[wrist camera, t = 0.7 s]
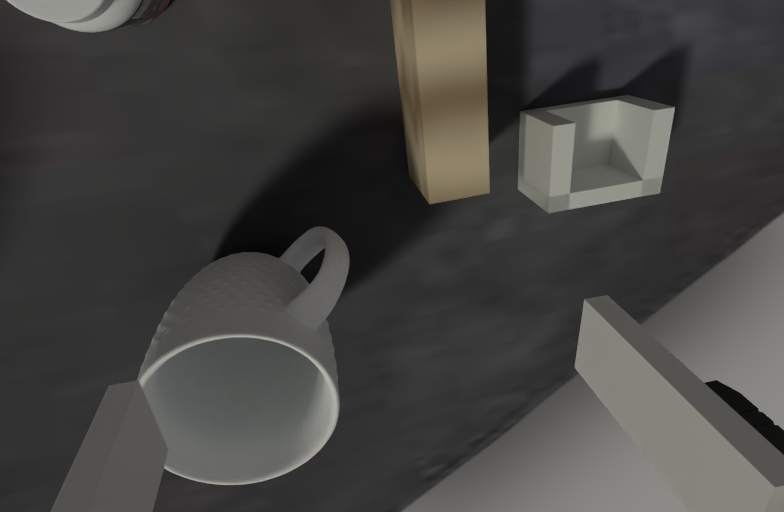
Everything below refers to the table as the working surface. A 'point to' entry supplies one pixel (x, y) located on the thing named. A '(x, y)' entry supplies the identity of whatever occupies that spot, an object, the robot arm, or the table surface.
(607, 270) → the table surface
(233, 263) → the mug
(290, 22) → the table surface
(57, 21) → the pill bottle
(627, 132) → the endcap
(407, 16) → the slat
